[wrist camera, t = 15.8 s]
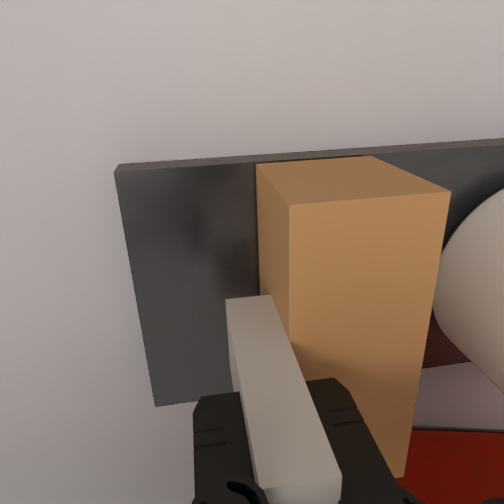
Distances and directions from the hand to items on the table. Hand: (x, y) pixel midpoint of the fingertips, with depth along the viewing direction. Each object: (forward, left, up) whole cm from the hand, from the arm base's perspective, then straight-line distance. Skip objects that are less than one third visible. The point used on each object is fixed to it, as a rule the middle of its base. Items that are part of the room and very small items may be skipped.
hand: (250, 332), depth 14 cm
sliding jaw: (+3, 0, -2) cm, 3 cm away
